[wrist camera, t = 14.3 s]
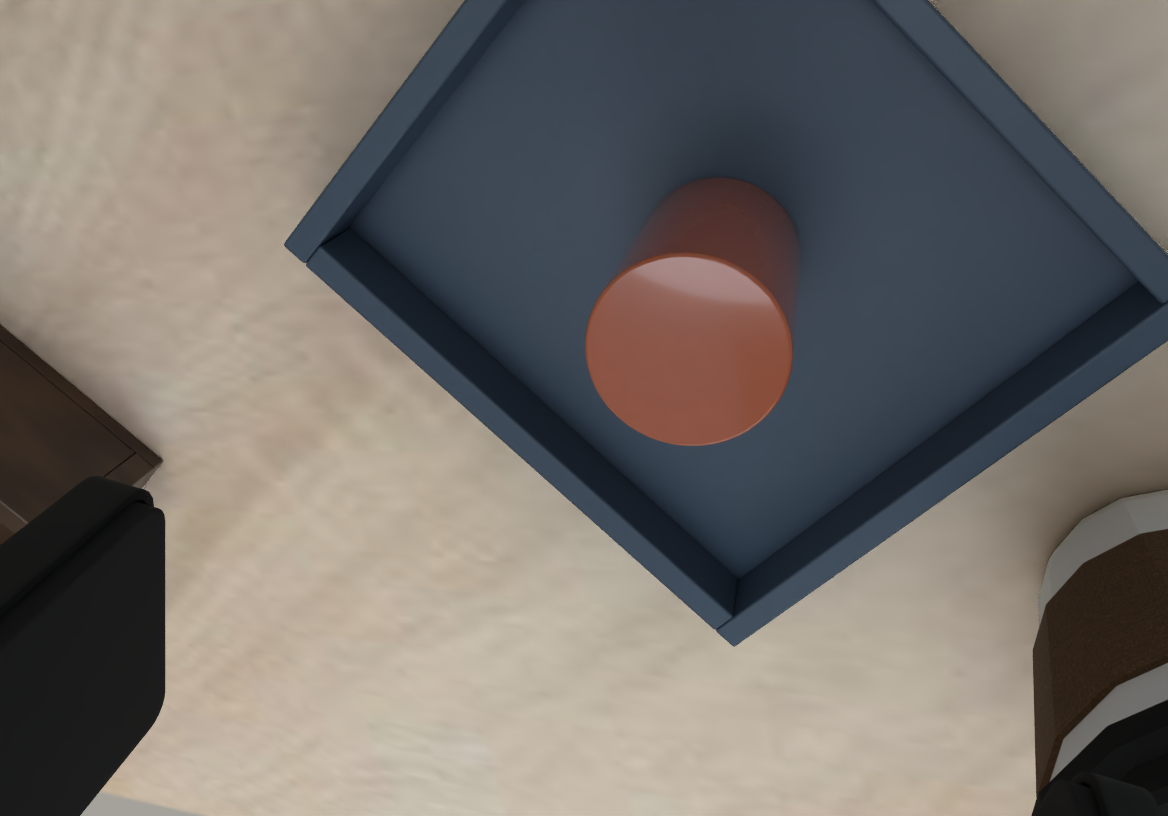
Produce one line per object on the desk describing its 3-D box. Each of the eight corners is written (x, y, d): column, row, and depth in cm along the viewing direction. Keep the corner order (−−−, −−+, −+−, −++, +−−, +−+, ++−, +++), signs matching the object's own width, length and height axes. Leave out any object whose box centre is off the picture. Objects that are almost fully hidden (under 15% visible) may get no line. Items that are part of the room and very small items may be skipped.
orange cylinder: (606, 257, 28) (542, 350, 22) (717, 141, 26) (683, 208, 20) (718, 363, 28) (688, 483, 22) (836, 258, 26) (838, 358, 20)
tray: (321, 222, 30) (281, 245, 28) (683, -256, 23) (668, -276, 21) (740, 599, 32) (733, 648, 30) (1183, 274, 25) (1216, 307, 23)
